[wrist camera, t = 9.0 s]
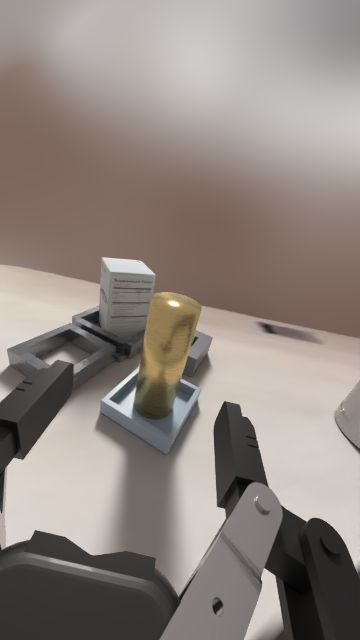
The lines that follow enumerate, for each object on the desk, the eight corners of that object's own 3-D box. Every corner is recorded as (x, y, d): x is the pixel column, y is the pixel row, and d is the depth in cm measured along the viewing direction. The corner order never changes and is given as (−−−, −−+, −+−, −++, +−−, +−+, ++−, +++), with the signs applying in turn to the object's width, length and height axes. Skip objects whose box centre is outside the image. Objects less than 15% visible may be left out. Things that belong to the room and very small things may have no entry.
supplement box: (97, 321, 42) (100, 256, 36) (135, 319, 46) (143, 260, 40) (104, 343, 37) (109, 270, 31) (146, 339, 40) (157, 274, 34)
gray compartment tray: (165, 330, 45) (167, 319, 43) (70, 405, 25) (70, 389, 24) (117, 308, 48) (118, 298, 47) (2, 359, 29) (-1, 344, 28)
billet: (179, 399, 29) (208, 304, 23) (160, 427, 25) (189, 321, 18) (148, 381, 30) (166, 288, 24) (125, 405, 26) (140, 300, 20)
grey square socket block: (207, 353, 41) (212, 337, 39) (191, 377, 34) (196, 359, 32) (170, 336, 43) (173, 320, 41) (148, 355, 36) (151, 338, 35)
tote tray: (197, 399, 30) (201, 388, 29) (166, 454, 23) (170, 443, 22) (143, 370, 33) (145, 360, 32) (100, 412, 25) (101, 400, 24)
